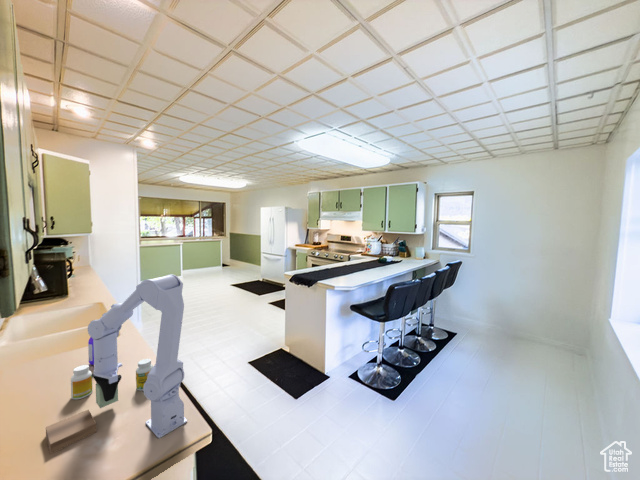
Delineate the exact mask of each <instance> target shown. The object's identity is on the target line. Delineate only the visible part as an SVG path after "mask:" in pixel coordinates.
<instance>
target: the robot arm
mask: <svg viewBox="0 0 640 480" xmlns="http://www.w3.org/2000/svg"><path fill="white" fill-rule="evenodd" d="M183 287H184V283H183V282H182V281H181V279H180V278H179V277H178V276H177V275H176V274H174V273H172V274H171V273H168V274H167V275H164V276H158V277H154V278H149V279H143V280H142V281H141V282H140V283H139V284H137V285H136V287H135V290H134V291H133V292H132V293H131V294H130V295H129V296H128V297H127V298H125V300H124V301H123V302H117V303H114V304H112V305H110V309H109V310H108V311H107V312H104V313H103V314H102V315H101V317H100V318H98V319H94V320H91V321H90V322H89V324H88V326H87V333H88V335H89V338H90V337H91V338H93V345H94V365H93V366H94V367H93V371H92V379H94V381H95V384H97V383H98V385H99V386H100V387H101V389H102V392H103V396H104V400H105V401H106V402H107V401H109V400H111V399H114V396H115V392H116V388H117V385H118V386H119V383H120V382H121V379H122V377H123V376H122V374H118V371H119V368H120V367H121V368H122V367H123V363H122V362H118V337H119V336H120V330H121V329H122V326H123V324H124V323H126V321H127V320H129V319H130V318H131V317H132V316H133V314H134V310H135V309H136V308H138V307H139V306H141V305H142V303H146V304H148V305H149V306H150V307H152V308H153V309H155V310H156V311H160V313H161V316H160V326H159V334H158V341H157V349H156V350H157V351H156V359H155V364H154V365H153V368H152V369H151V371H150V372H149V374H148V377H147V381H146V382H145V384H144V386H143V395H144V397H145V398H146V399H147V400H149V401H150V418H149V419H147V420H146V421H145V424H146V426H147V427H148V428H149V430H151V432H153V434H154V435H155V436H156V438H158V439H161V438H162V437H164V436H165V435H167V434H169V433H171V432H173V431H174V430H176V429H177V428H179V427H180V426H183V425H184V424H186V423H187V422H188V419H187V418H186V417H185V403H184V401H183V400H182V398H181V397H180V391H179V390H180V388H181V383H182V382H183V380H184V379H185V370H184V362H183V361H182V360H181V359H178V356H179V349H180V342H181V333H182V326H183V325H182V324H183V318H184V312H185V311H184V309H185V301H184V297H183V289H184V288H183Z"/></svg>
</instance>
